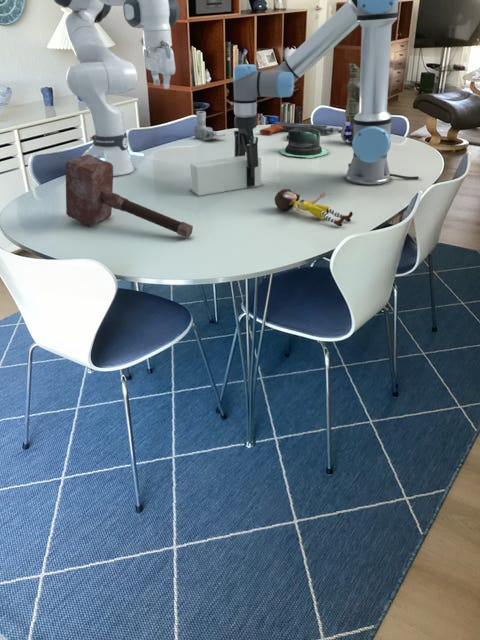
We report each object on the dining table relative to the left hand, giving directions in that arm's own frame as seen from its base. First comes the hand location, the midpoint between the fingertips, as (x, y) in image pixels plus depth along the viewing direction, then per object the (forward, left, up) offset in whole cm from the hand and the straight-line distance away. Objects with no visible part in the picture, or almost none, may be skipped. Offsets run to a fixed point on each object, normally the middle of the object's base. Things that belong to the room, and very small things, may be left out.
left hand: (161, 87), depth 184 cm
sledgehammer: (+8, -44, -32) cm, 55 cm away
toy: (+55, +76, -32) cm, 100 cm away
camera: (-13, +69, -32) cm, 77 cm away
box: (+22, 0, -32) cm, 39 cm away
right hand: (+27, +6, -32) cm, 42 cm away
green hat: (+36, +56, -32) cm, 74 cm away
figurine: (+56, -20, -32) cm, 68 cm away
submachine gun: (+24, +88, -32) cm, 97 cm away
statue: (+50, +103, -32) cm, 119 cm away
